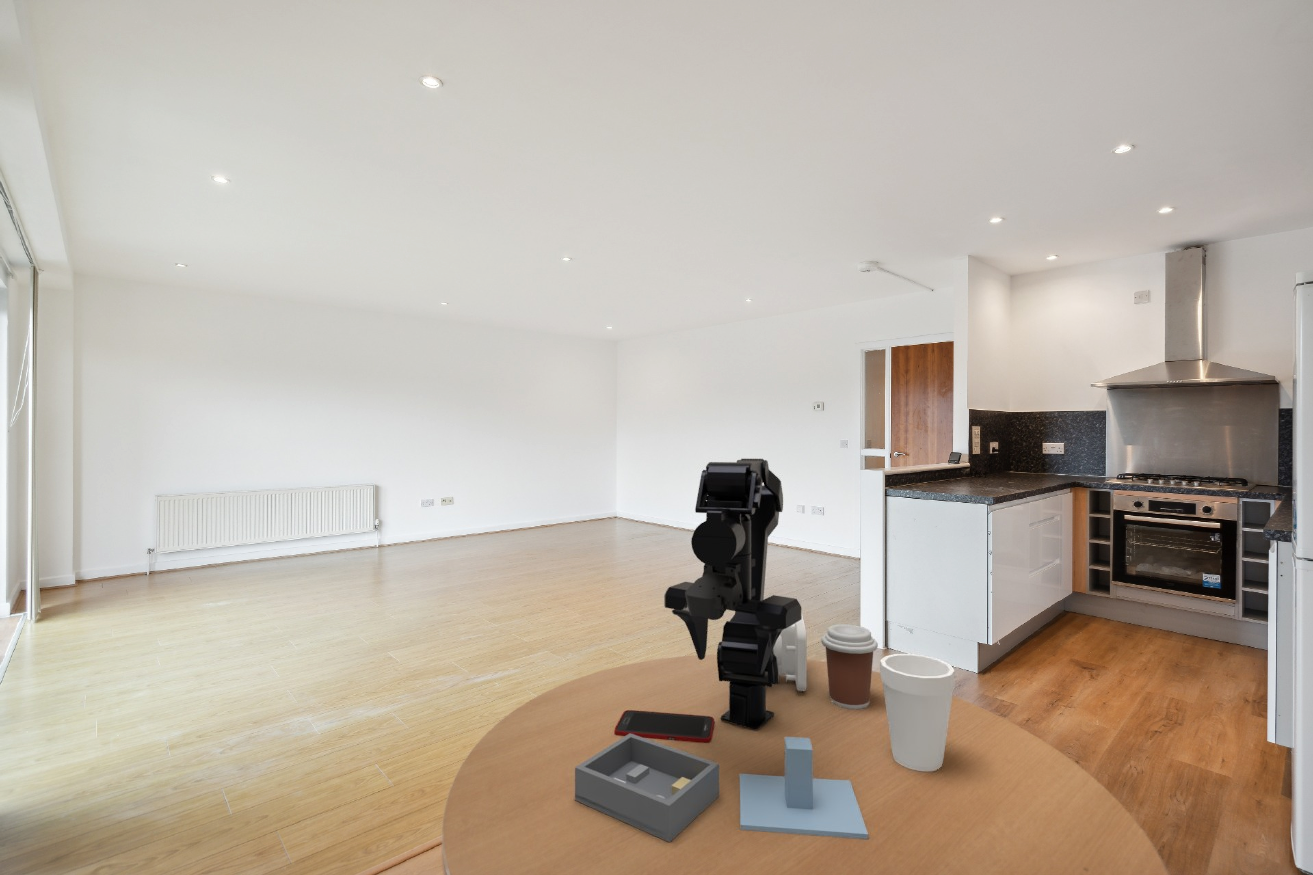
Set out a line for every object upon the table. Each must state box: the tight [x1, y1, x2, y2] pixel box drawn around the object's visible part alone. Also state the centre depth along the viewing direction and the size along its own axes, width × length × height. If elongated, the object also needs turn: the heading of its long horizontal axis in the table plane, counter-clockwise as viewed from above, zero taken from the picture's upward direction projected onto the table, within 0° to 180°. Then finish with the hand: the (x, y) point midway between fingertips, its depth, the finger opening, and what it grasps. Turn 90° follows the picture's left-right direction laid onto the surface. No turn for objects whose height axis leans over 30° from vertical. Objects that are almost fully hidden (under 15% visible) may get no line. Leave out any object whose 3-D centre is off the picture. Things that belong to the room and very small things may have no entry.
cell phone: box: [614, 709, 715, 744], centre depth 96 cm, size 8×15×1 cm, turn 80°
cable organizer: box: [773, 610, 808, 692], centre depth 115 cm, size 15×11×12 cm
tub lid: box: [739, 736, 869, 840], centre depth 75 cm, size 11×14×8 cm
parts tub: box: [574, 733, 720, 843], centre depth 77 cm, size 11×14×4 cm
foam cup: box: [879, 653, 956, 772], centre depth 86 cm, size 10×9×13 cm
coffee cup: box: [821, 623, 879, 710], centre depth 106 cm, size 9×9×12 cm
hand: (730, 665), depth 86 cm, fingers open, 9 cm apart
